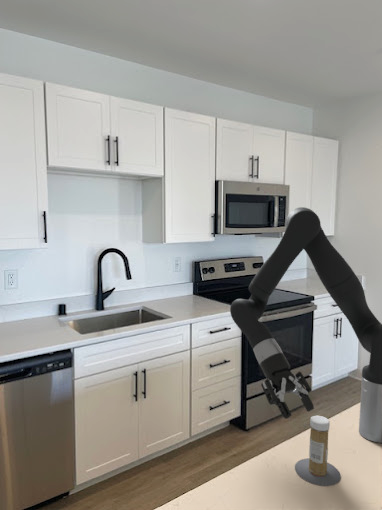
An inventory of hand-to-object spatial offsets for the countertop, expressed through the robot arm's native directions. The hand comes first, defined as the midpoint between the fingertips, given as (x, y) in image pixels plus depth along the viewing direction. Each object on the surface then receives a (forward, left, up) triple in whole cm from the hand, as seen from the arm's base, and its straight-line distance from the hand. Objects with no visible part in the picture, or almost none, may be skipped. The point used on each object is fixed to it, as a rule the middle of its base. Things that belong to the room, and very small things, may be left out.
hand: (300, 413), depth 102 cm
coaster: (0, +6, -12) cm, 14 cm away
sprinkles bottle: (0, +6, -12) cm, 14 cm away
